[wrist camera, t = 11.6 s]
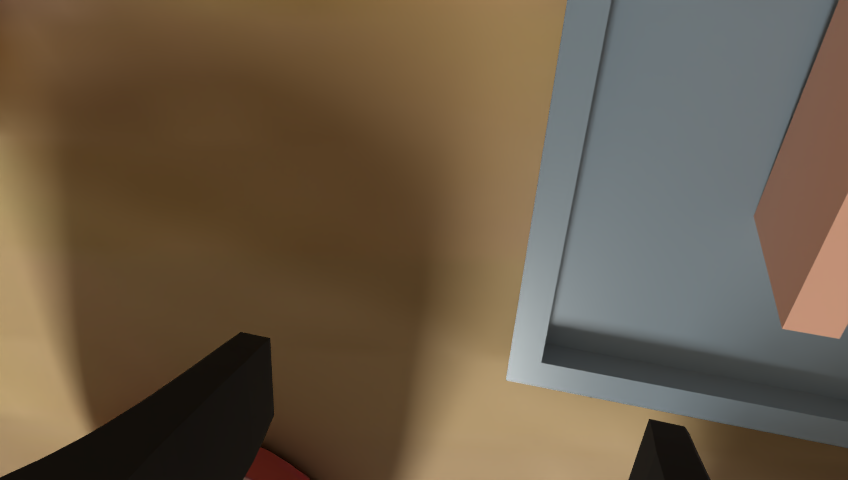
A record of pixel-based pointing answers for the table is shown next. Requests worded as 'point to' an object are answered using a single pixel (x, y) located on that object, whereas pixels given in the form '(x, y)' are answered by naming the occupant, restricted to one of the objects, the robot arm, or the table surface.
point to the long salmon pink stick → (812, 198)
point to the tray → (673, 217)
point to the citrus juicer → (272, 468)
